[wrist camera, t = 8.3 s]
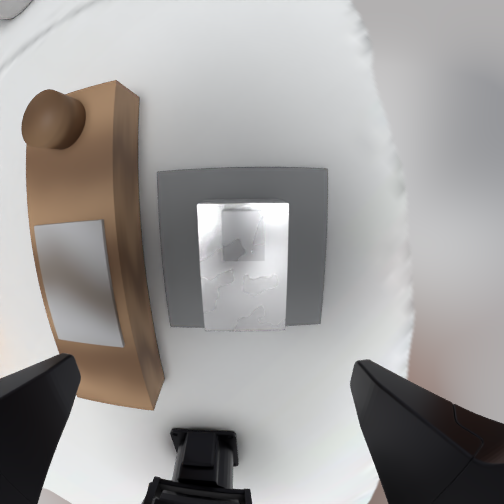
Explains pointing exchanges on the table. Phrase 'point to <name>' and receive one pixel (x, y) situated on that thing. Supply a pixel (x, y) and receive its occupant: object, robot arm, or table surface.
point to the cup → (12, 8)
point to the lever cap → (243, 263)
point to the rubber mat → (243, 187)
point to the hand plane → (92, 239)
